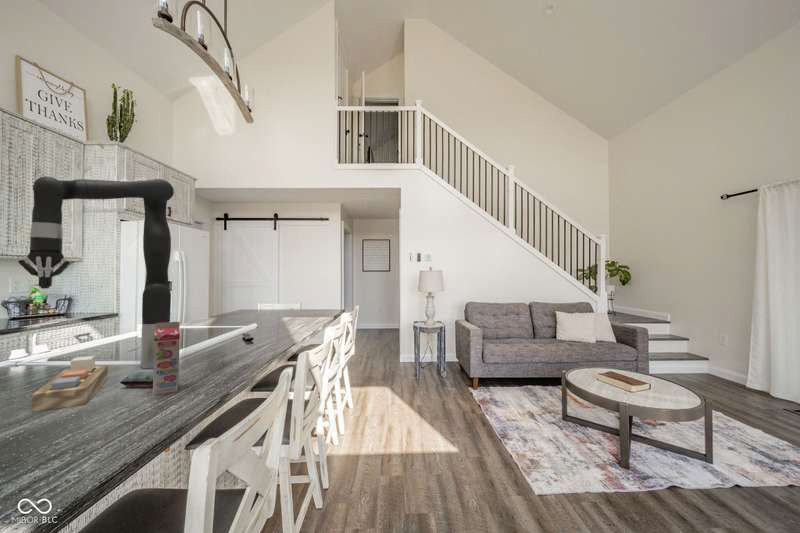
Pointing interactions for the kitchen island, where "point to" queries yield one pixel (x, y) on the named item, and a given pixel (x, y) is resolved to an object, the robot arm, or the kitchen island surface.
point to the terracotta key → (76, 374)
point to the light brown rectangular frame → (69, 391)
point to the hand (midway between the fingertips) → (45, 288)
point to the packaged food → (139, 379)
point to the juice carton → (166, 357)
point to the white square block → (83, 363)
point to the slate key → (66, 383)
